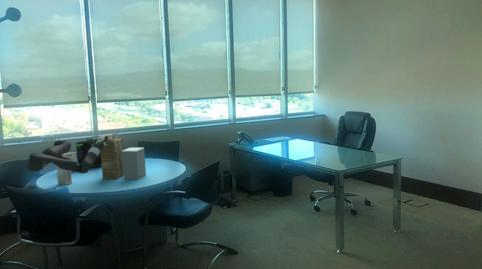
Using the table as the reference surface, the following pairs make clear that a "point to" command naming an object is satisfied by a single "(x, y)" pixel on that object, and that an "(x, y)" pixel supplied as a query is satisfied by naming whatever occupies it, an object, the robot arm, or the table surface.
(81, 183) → the table surface
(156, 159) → the table surface
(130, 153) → the light grey box
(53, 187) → the table surface
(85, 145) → the headset box
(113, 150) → the tall stand
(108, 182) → the table surface
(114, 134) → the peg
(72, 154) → the candy bar box
